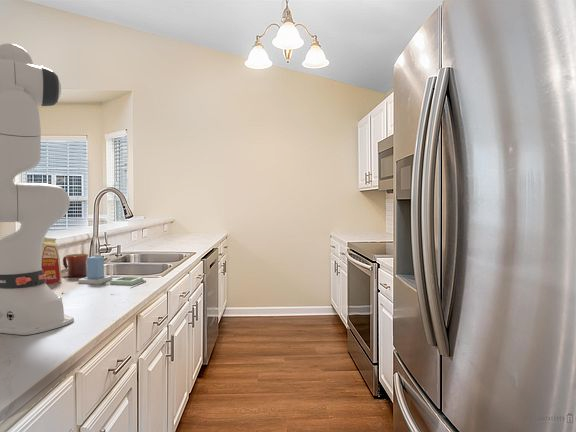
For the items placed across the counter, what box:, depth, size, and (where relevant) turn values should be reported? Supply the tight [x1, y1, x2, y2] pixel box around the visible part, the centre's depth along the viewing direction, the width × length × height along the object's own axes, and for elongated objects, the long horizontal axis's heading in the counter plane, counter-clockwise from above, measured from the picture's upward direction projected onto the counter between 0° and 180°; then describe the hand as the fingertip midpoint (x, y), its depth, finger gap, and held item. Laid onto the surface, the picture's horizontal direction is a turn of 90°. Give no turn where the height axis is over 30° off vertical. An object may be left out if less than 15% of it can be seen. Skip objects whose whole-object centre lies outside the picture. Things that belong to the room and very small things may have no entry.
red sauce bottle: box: [41, 237, 63, 285], centre depth 160 cm, size 9×9×20 cm
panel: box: [75, 275, 147, 289], centre depth 160 cm, size 24×12×2 cm, turn 81°
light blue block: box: [86, 253, 105, 280], centre depth 161 cm, size 4×4×11 cm
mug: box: [62, 253, 89, 278], centre depth 174 cm, size 12×9×10 cm
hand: (9, 149), depth 153 cm, fingers open, 8 cm apart
